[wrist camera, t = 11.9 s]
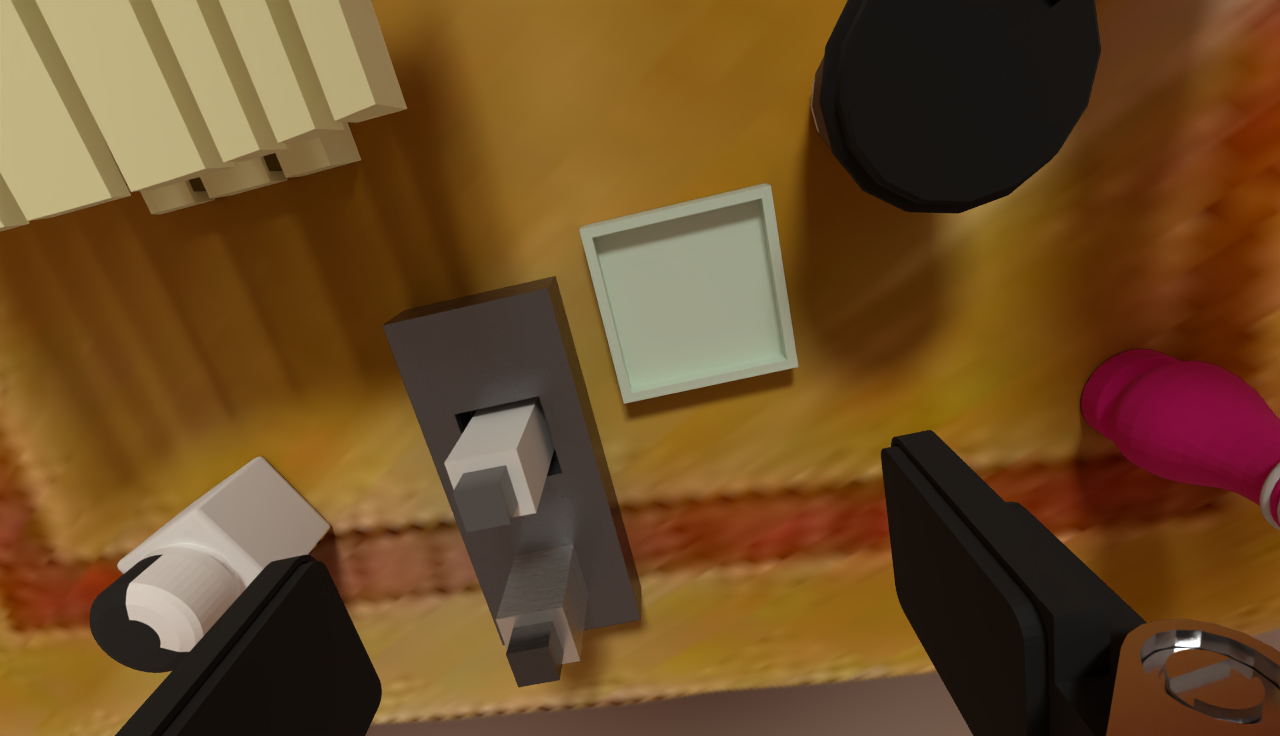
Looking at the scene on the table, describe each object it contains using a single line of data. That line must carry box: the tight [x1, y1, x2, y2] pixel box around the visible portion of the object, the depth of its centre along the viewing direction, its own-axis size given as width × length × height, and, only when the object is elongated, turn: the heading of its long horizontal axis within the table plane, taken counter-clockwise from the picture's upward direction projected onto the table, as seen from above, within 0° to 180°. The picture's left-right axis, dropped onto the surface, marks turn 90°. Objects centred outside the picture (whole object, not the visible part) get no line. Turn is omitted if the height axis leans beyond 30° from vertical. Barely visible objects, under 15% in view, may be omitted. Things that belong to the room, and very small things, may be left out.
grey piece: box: [383, 276, 641, 687], centre depth 38 cm, size 24×10×12 cm, turn 13°
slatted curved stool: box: [0, 0, 407, 232], centre depth 27 cm, size 30×16×18 cm, turn 104°
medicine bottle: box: [90, 457, 330, 673], centre depth 39 cm, size 7×7×12 cm
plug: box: [444, 396, 555, 532], centre depth 37 cm, size 4×4×10 cm
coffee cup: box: [811, 0, 1101, 213], centre depth 30 cm, size 11×11×12 cm
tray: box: [580, 183, 798, 404], centre depth 39 cm, size 11×11×2 cm
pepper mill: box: [1081, 349, 1280, 530], centre depth 32 cm, size 7×7×20 cm
